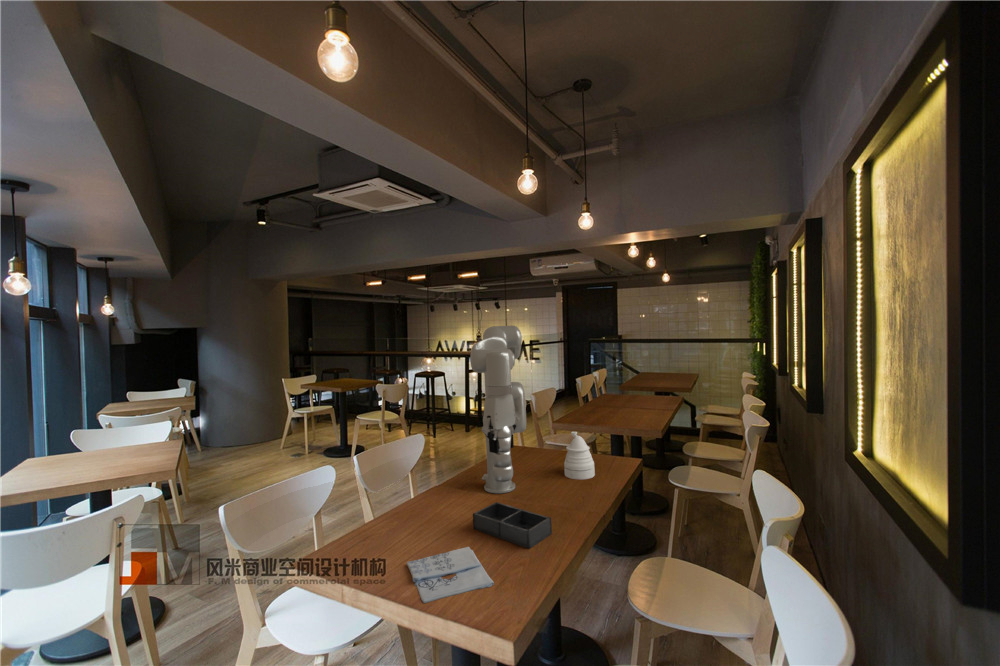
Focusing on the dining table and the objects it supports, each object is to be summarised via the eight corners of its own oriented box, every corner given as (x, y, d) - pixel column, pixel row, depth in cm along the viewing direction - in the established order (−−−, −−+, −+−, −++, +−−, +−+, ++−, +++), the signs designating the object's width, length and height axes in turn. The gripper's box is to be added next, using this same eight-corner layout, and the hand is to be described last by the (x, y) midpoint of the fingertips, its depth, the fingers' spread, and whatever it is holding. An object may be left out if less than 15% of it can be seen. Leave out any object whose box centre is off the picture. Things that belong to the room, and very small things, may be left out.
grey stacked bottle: (516, 477, 137) (514, 413, 137) (509, 485, 130) (506, 418, 130) (497, 476, 139) (494, 413, 139) (489, 483, 133) (486, 417, 132)
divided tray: (473, 529, 142) (472, 513, 142) (497, 516, 151) (496, 501, 151) (529, 549, 127) (528, 531, 127) (551, 533, 136) (551, 517, 136)
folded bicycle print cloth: (472, 552, 128) (471, 544, 128) (495, 588, 109) (495, 580, 109) (406, 566, 122) (405, 558, 122) (418, 608, 103) (418, 599, 103)
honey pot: (558, 475, 190) (556, 433, 190) (575, 467, 199) (573, 428, 199) (584, 481, 181) (582, 437, 181) (600, 473, 191) (598, 431, 191)
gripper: (508, 386, 143) (510, 441, 144) (470, 394, 130) (473, 454, 131) (526, 388, 138) (529, 445, 138) (488, 396, 125) (491, 458, 126)
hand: (501, 449), depth 135 cm, fingers closed on grey stacked bottle, 6 cm apart
